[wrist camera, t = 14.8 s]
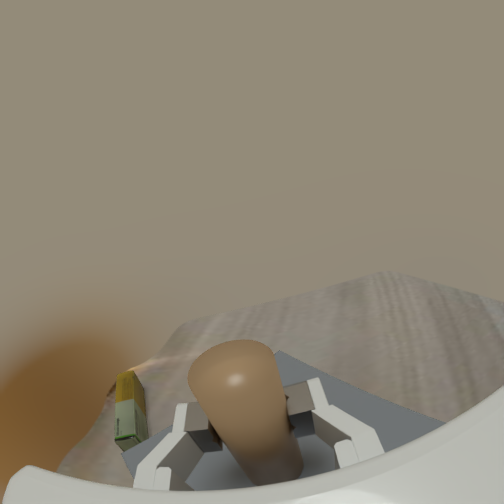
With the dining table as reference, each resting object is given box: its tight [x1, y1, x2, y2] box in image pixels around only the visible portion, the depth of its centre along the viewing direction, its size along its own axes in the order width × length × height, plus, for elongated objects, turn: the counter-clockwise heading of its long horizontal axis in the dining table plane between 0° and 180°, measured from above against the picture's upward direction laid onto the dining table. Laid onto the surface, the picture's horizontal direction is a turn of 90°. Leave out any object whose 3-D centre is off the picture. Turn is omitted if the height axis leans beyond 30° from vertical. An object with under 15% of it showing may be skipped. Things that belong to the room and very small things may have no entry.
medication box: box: [115, 371, 148, 452], centre depth 27 cm, size 12×3×4 cm, turn 21°
